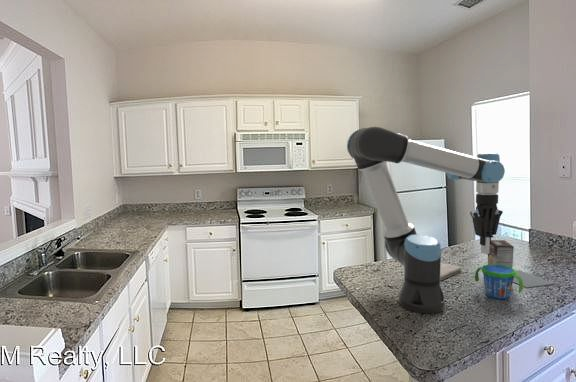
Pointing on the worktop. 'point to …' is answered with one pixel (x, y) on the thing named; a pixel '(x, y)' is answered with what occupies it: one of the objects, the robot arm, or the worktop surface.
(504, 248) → the coffee box
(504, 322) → the worktop surface
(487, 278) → the snack cup
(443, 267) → the washcloth
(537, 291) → the worktop surface
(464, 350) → the worktop surface
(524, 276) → the mat
